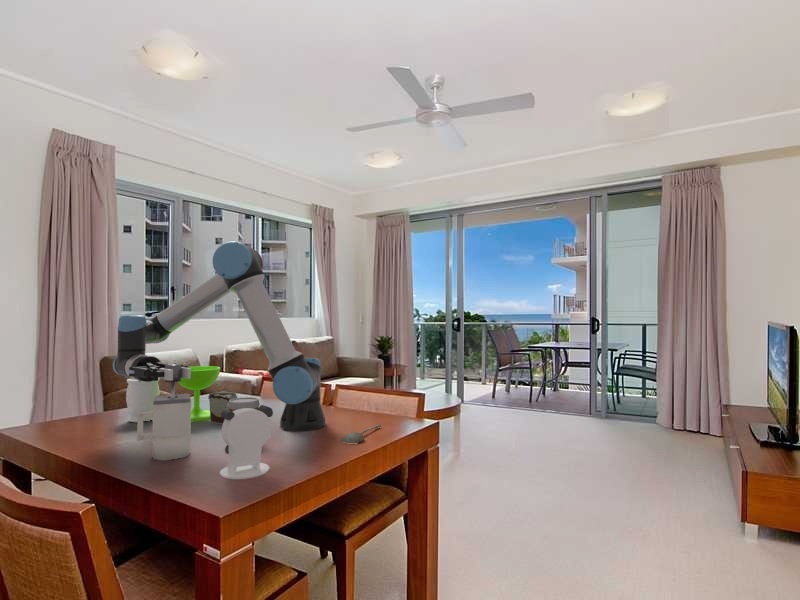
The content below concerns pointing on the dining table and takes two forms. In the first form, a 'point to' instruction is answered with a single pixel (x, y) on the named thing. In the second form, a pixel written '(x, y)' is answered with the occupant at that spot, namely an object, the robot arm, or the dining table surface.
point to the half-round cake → (219, 405)
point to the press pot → (168, 426)
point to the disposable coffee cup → (243, 403)
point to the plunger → (174, 376)
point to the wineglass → (200, 388)
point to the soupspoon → (356, 436)
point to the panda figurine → (245, 441)
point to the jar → (141, 397)
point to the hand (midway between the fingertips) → (180, 374)
